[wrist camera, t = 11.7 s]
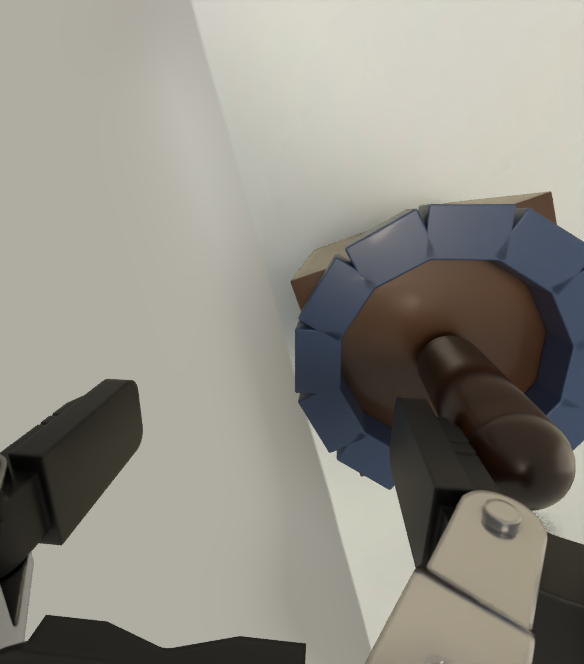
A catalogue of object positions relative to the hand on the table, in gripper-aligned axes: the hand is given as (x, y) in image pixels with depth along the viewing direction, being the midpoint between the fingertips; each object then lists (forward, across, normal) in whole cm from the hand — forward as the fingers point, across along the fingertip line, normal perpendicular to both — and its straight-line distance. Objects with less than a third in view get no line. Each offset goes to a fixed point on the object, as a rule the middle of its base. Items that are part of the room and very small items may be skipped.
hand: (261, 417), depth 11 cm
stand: (+20, -7, 0) cm, 21 cm away
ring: (+6, -6, 0) cm, 9 cm away
